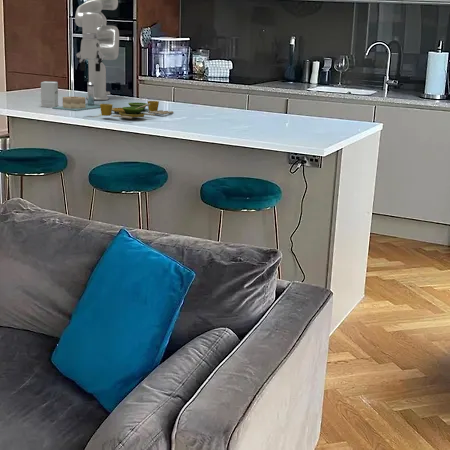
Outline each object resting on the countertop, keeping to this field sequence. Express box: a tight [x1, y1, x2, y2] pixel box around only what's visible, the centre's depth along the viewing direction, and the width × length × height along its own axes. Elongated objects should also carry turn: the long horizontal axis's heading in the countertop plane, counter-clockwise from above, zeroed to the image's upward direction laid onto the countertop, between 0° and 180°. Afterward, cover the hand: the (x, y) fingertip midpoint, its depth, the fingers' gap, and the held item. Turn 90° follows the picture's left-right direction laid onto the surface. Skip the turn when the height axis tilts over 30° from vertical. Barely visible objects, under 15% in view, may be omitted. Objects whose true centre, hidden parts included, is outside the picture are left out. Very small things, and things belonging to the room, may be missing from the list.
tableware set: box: [99, 100, 174, 119], centre depth 368 cm, size 41×28×6 cm
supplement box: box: [40, 81, 59, 108], centre depth 380 cm, size 7×7×13 cm
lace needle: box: [87, 81, 95, 106], centre depth 386 cm, size 3×3×12 cm
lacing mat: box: [51, 102, 101, 112], centre depth 382 cm, size 30×15×1 cm, turn 153°
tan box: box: [62, 96, 87, 109], centre depth 375 cm, size 11×11×5 cm
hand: (90, 70), depth 383 cm, fingers open, 9 cm apart
